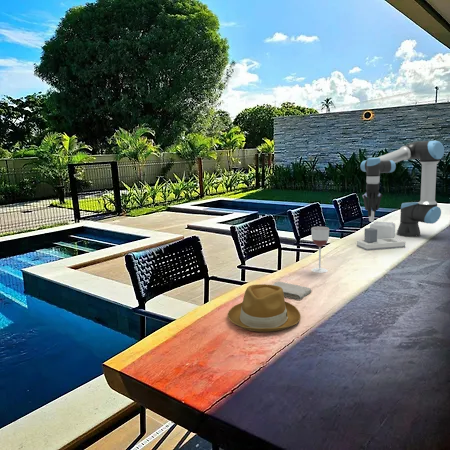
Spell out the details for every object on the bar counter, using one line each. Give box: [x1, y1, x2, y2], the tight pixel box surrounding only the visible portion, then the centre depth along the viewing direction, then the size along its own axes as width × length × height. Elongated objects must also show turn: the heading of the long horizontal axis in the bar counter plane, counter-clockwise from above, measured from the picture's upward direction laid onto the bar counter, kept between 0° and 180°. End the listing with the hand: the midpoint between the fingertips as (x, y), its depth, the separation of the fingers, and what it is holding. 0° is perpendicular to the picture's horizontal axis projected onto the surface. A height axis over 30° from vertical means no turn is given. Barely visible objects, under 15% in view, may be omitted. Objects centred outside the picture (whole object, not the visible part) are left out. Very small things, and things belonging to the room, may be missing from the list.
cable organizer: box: [369, 220, 396, 239], centre depth 268 cm, size 15×11×12 cm
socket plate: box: [356, 237, 406, 251], centre depth 250 cm, size 26×12×4 cm, turn 101°
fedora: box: [227, 283, 301, 333], centre depth 147 cm, size 27×29×12 cm
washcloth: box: [272, 281, 312, 301], centre depth 174 cm, size 12×18×3 cm, turn 53°
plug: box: [363, 227, 377, 243], centre depth 249 cm, size 5×6×10 cm
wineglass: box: [310, 226, 330, 274], centre depth 203 cm, size 9×10×22 cm
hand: (371, 221), depth 247 cm, fingers closed
